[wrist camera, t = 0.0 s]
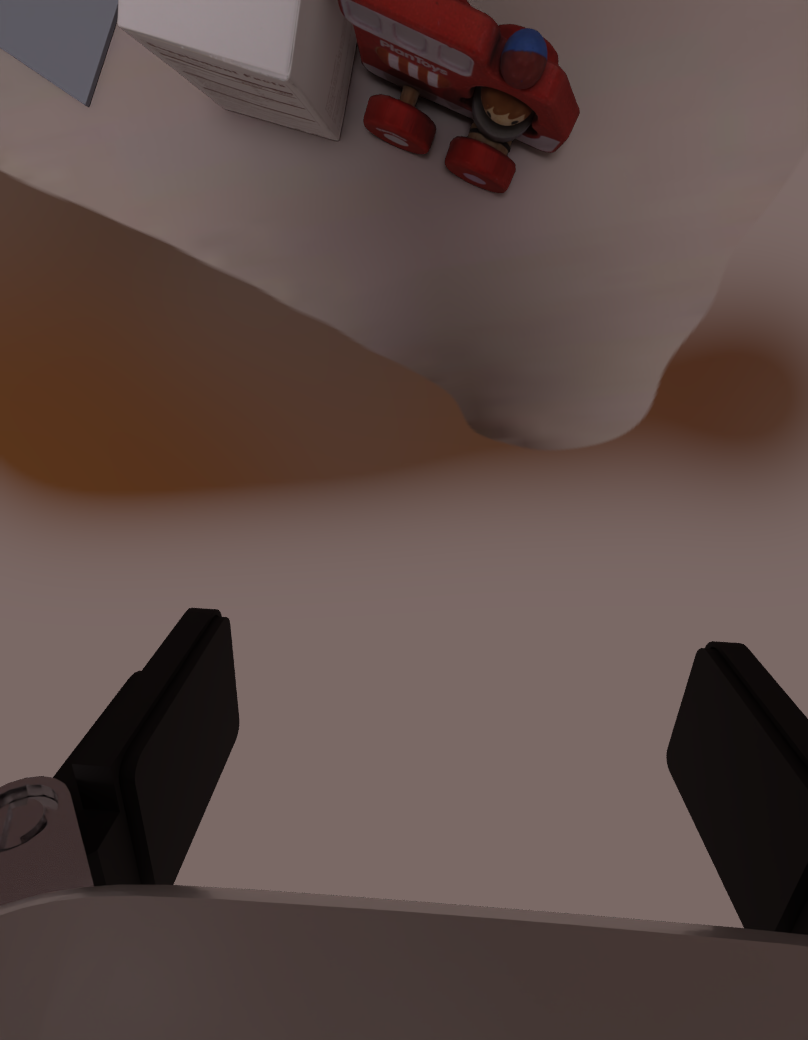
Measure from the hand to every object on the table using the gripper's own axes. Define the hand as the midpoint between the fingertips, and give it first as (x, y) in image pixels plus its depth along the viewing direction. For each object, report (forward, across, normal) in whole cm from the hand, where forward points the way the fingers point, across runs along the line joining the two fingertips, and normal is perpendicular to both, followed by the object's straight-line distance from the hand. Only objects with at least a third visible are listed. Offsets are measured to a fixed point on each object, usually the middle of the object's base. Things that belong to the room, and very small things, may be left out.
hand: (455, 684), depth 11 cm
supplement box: (+32, +10, -19) cm, 38 cm away
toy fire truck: (+32, 0, -17) cm, 36 cm away
